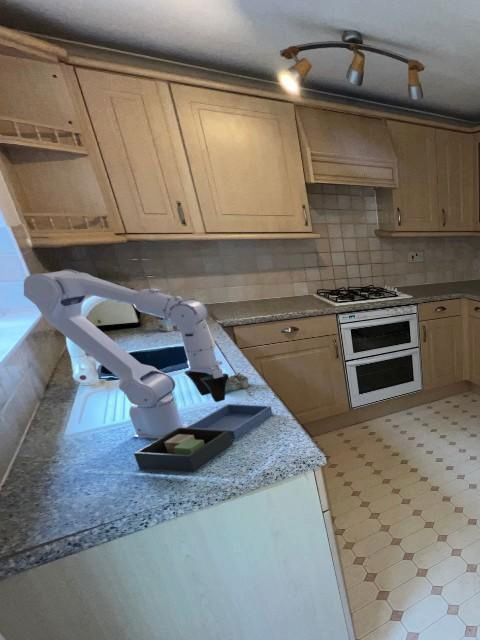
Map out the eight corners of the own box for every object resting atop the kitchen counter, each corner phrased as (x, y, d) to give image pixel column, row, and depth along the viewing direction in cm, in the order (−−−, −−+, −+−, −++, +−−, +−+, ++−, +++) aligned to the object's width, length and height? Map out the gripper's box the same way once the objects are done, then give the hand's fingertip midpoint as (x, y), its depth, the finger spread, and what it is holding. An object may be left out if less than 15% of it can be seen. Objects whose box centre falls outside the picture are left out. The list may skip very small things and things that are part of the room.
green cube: (178, 462, 94) (173, 447, 92) (192, 453, 98) (187, 439, 96) (194, 463, 94) (189, 448, 92) (207, 454, 97) (203, 439, 96)
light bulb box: (168, 332, 202) (161, 310, 198) (159, 330, 204) (152, 309, 200) (190, 327, 211) (184, 306, 207) (182, 326, 213) (176, 305, 209)
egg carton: (216, 396, 130) (213, 384, 129) (207, 390, 134) (204, 379, 133) (252, 386, 138) (249, 375, 137) (242, 381, 142) (240, 370, 141)
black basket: (140, 470, 92) (133, 453, 90) (184, 443, 103) (179, 427, 101) (194, 473, 91) (189, 456, 89) (233, 445, 102) (229, 430, 100)
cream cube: (169, 456, 96) (164, 442, 95) (183, 448, 100) (178, 434, 98) (184, 457, 96) (179, 443, 94) (198, 449, 99) (193, 434, 98)
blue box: (188, 438, 105) (184, 428, 104) (230, 413, 119) (227, 403, 118) (236, 441, 104) (233, 430, 103) (272, 415, 118) (270, 406, 117)
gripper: (230, 349, 102) (242, 398, 107) (203, 340, 109) (216, 386, 114) (198, 356, 97) (213, 407, 102) (172, 346, 104) (187, 395, 109)
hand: (212, 397), depth 108 cm, fingers open, 7 cm apart
